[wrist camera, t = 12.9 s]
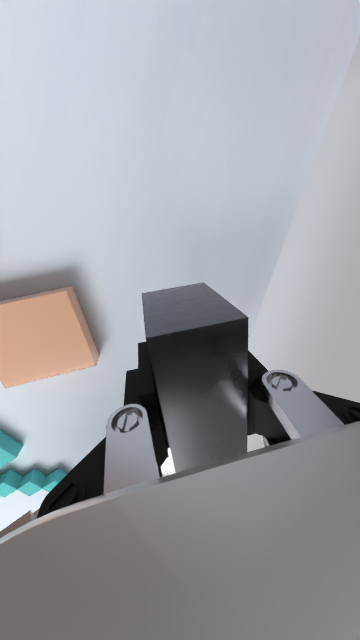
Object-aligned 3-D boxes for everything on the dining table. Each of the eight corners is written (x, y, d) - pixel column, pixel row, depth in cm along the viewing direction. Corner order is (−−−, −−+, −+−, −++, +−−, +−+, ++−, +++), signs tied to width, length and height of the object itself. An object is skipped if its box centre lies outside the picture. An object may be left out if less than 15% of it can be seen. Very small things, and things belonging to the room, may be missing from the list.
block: (95, 365, 24) (66, 290, 21) (4, 388, 23) (-43, 313, 20) (99, 353, 27) (73, 285, 23) (17, 374, 26) (-23, 305, 22)
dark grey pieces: (98, 301, 10) (69, 353, 6) (242, 275, 10) (309, 304, 6) (163, 517, 17) (172, 605, 13) (243, 493, 18) (273, 568, 14)
